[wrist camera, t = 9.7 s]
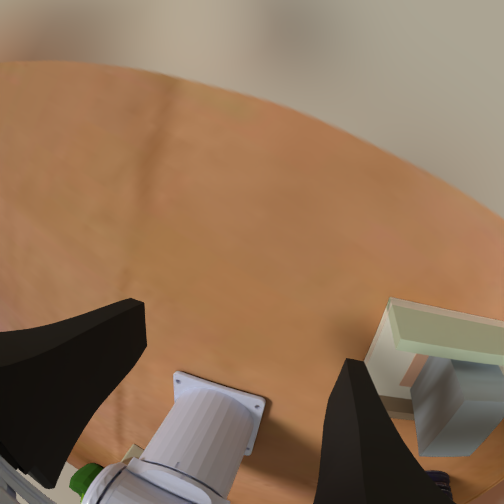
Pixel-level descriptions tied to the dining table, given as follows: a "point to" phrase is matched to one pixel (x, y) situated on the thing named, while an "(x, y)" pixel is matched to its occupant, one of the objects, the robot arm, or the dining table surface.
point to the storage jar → (441, 481)
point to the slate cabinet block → (456, 405)
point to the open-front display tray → (426, 347)
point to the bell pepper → (84, 478)
